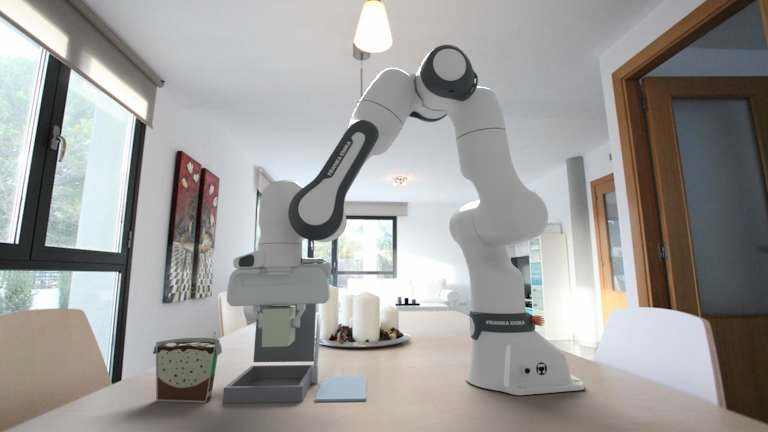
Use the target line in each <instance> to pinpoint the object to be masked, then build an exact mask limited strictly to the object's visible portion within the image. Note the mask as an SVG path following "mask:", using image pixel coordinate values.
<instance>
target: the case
mask: <svg viewBox="0 0 768 432" xmlns="http://www.w3.org/2000/svg"><path fill="white" fill-rule="evenodd" d="M321 326H322V314H318V315H317V320H316V330H315V347H314V362H313V364H292V365H291V364H288V365H287V364H282V365H280V364H279V365H277V364H276V365H275V364H274V365H270V364H267V365H251V366H249V367H248V368H247V369H246V370H244V371H243V372H242V373H241V374H239V375H238V376H237V377H235V379H233V380H232V381H230V383H228V384H227V385H226V386H224V387H223V394H222V395H223V396H222V398H223V399H222V404H235V403H236V404H239V403H240V404H241V403H242V404H243V403H244V404H245V403H246V404H249V403H252V404H253V403H295V402H296V403H297V402H299V403H302V402H303V401H304V398H305V397H306V395H307V393H308V391H309V388H310V386H311V384H318V382H319V365H318V364H319V363H318V362H319V351H320V349H319V348H320V340H321V339H320V337H321ZM255 379H257V380H258V379H259V380H260V379H261V380H263V379H301V381H300V383H299V384H298V385H297V384H296V385H295V384H294V385H293V384H292V385H249V384H250V383H251V382H252V381H254V380H255Z"/></svg>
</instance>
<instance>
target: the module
mask: <svg viewBox="0 0 768 432" xmlns="http://www.w3.org/2000/svg"><path fill="white" fill-rule="evenodd" d="M292 318H295V306H291V305H273V306H270V307H267V308H265V309H263V314H262V347H279V346H289V345H290V344H291V343H292V342H293V341H294V340H295V328H291V324H292V323H291V319H292Z"/></svg>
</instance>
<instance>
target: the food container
mask: <svg viewBox="0 0 768 432" xmlns="http://www.w3.org/2000/svg"><path fill="white" fill-rule="evenodd" d="M220 341H221V340H219V339H218V338H214V337H212V338H211V337H184V338H183V337H182V338H172V339H167V340H165V339H164V340H160V341H156V342H155V345H154V348H153V350H152V351H153V352H152V354H153V355H155V378H156V380H155V385H156V386H155V391H156V395H155V397H156V398H155V399H156V400H155V402H176V403H177V402H179V403H183V402H184V403H208V402H209V401H211V399H212V393H213V389H214V388H213V387H214V381H215V375H216V369H217V362H218V356H219V355H221V354H222V353H223V350H222V349H223V348H222V344H221V343H220Z"/></svg>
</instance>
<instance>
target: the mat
mask: <svg viewBox="0 0 768 432" xmlns="http://www.w3.org/2000/svg"><path fill="white" fill-rule="evenodd" d="M366 401H367V376H366V375H365V376H324V377H323V378H322V380H321V382H320V385H319V388H318V390H317V393H316V394H315V398H314V403H316V402H317V403H318V402H319V403H321V402H323V403H325V402H328V403H329V402H366Z"/></svg>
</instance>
